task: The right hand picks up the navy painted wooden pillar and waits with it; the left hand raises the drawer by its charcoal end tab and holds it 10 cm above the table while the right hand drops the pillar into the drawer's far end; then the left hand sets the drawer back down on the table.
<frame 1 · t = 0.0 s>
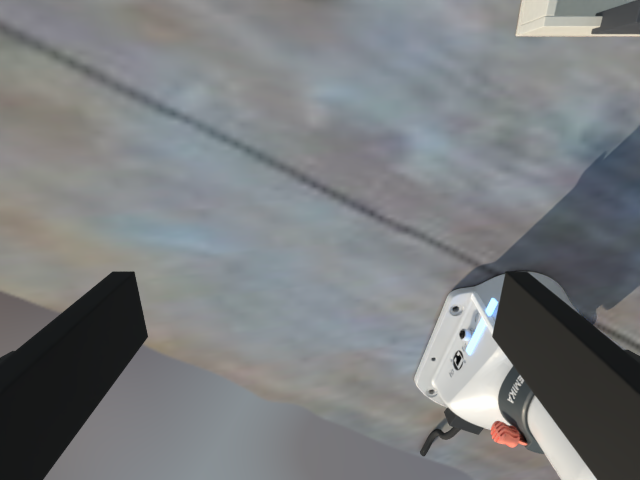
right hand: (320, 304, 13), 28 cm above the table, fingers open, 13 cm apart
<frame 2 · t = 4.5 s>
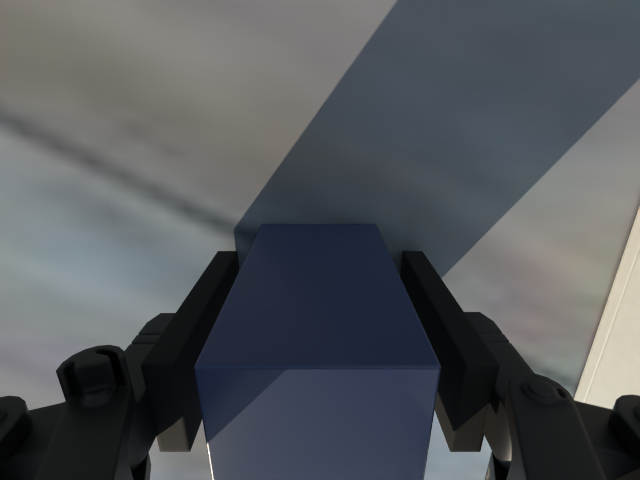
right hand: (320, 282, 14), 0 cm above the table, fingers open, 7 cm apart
pillar: (318, 275, 15), on the table
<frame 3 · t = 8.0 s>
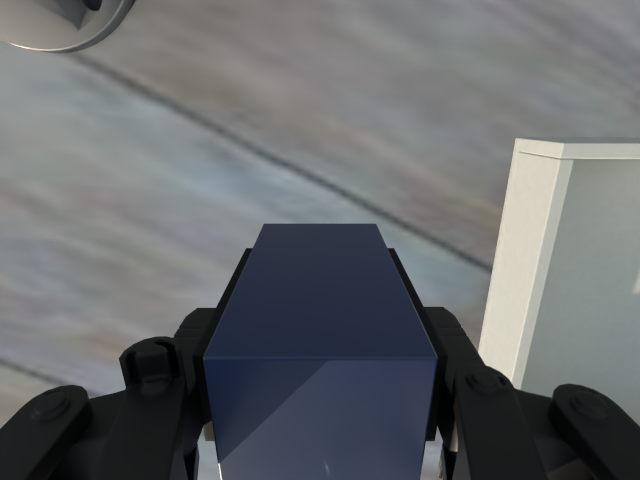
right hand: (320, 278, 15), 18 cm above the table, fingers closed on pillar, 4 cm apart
pillar: (320, 273, 15), point 17 cm above the table, touching right hand
drawer: (605, 304, 26), point 8 cm above the table, touching left hand
when the right hand's fingers open (16 cm above the table, at t = 11.1 s): pillar drops 9 cm, resting on drawer.
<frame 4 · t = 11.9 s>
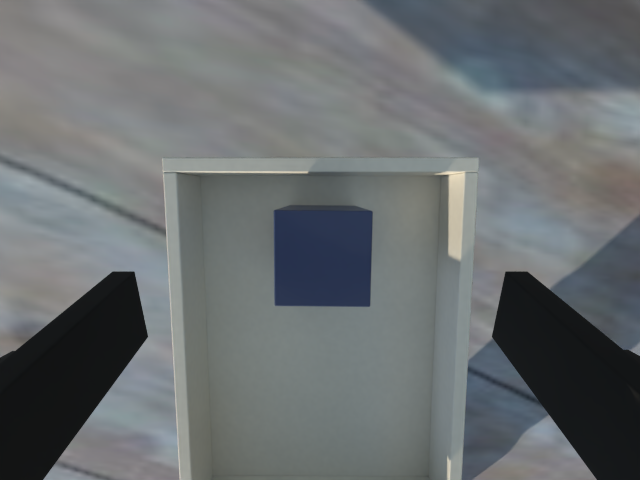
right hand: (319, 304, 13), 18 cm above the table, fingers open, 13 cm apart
pillar: (322, 238, 24), point 6 cm above the table, tilted 14°, touching drawer
drawer: (320, 330, 26), point 7 cm above the table, tilted 14°, touching left hand, pillar
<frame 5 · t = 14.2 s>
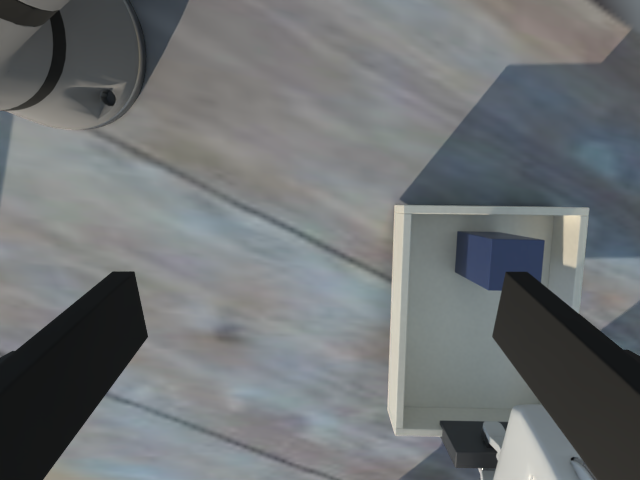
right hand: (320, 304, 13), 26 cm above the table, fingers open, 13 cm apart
pillar: (476, 252, 38), point 2 cm above the table, tilted 14°, touching drawer
drawer: (469, 311, 40), point 3 cm above the table, tilted 14°, touching left hand, pillar
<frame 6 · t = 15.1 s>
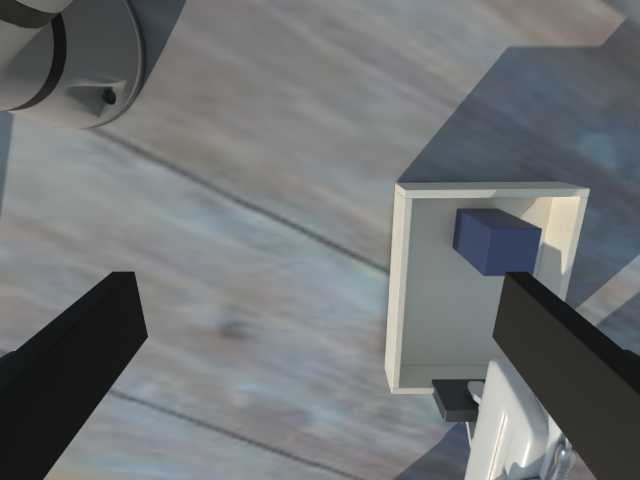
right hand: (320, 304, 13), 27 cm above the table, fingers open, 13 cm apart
left hand: (471, 397, 40), fingers closed on drawer
pillar: (474, 228, 39), point 1 cm above the table, touching drawer
drawer: (464, 282, 42), point 1 cm above the table, touching left hand, pillar
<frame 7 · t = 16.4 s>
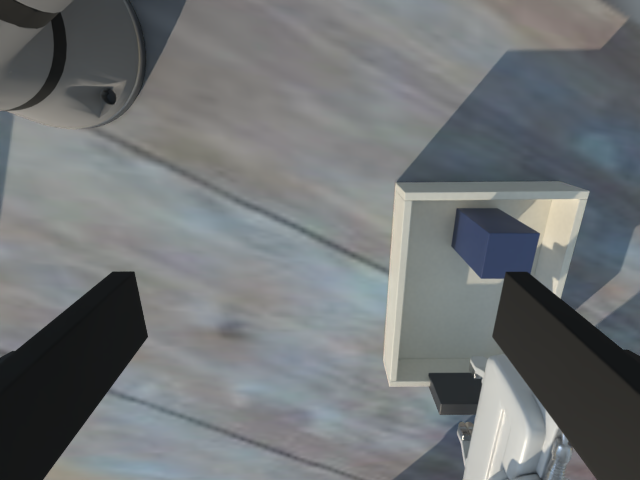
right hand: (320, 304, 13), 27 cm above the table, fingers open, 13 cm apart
left hand: (470, 395, 40), fingers open, 8 cm apart
pillar: (473, 227, 39), point 1 cm above the table, touching drawer
drawer: (462, 279, 42), on the table, touching pillar
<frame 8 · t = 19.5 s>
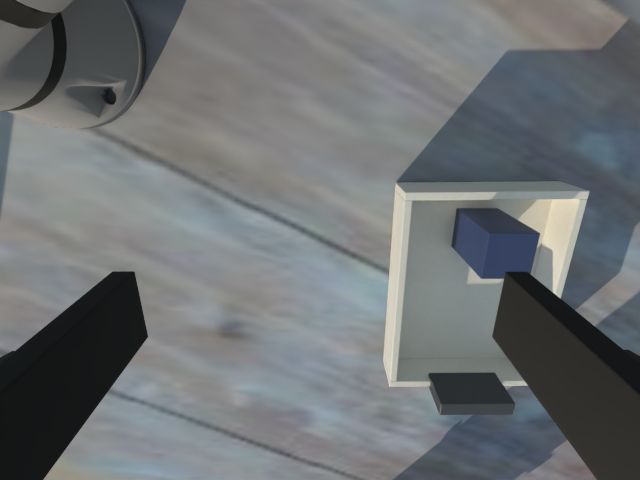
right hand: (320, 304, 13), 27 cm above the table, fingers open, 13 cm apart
pillar: (473, 227, 39), point 1 cm above the table, touching drawer
drawer: (462, 279, 42), on the table, touching pillar
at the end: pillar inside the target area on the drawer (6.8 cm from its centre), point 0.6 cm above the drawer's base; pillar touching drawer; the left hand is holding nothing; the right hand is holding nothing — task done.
